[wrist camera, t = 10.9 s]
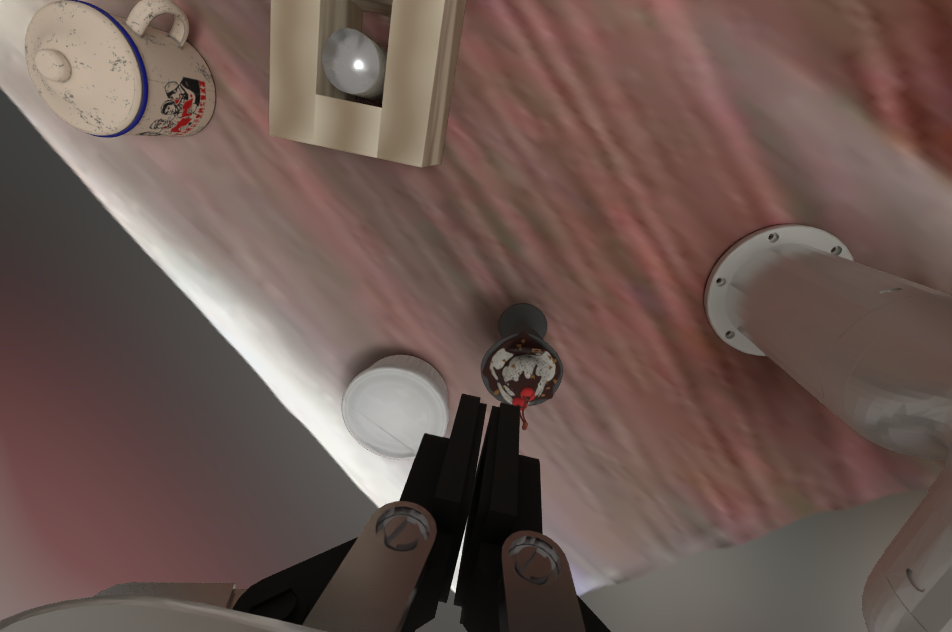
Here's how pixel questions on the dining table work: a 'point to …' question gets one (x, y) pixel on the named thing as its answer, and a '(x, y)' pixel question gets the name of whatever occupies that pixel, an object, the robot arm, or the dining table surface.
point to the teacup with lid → (119, 70)
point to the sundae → (522, 360)
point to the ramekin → (396, 406)
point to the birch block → (405, 88)
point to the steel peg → (355, 64)
